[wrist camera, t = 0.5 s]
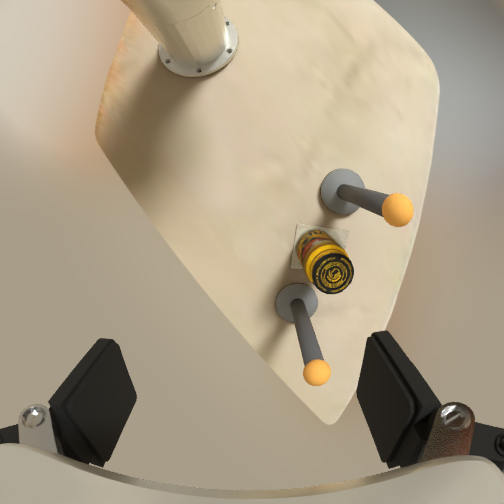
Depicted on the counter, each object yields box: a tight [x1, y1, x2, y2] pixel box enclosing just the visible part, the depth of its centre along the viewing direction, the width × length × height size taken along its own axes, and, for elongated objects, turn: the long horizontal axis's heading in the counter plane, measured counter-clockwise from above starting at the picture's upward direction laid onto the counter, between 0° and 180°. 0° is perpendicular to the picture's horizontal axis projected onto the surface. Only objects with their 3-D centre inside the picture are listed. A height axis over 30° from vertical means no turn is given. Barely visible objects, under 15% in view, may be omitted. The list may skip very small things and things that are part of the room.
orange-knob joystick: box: [276, 283, 331, 386], centre depth 37 cm, size 7×7×20 cm
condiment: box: [290, 224, 354, 294], centre depth 38 cm, size 7×8×12 cm
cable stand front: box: [321, 169, 413, 227], centre depth 32 cm, size 7×7×20 cm
